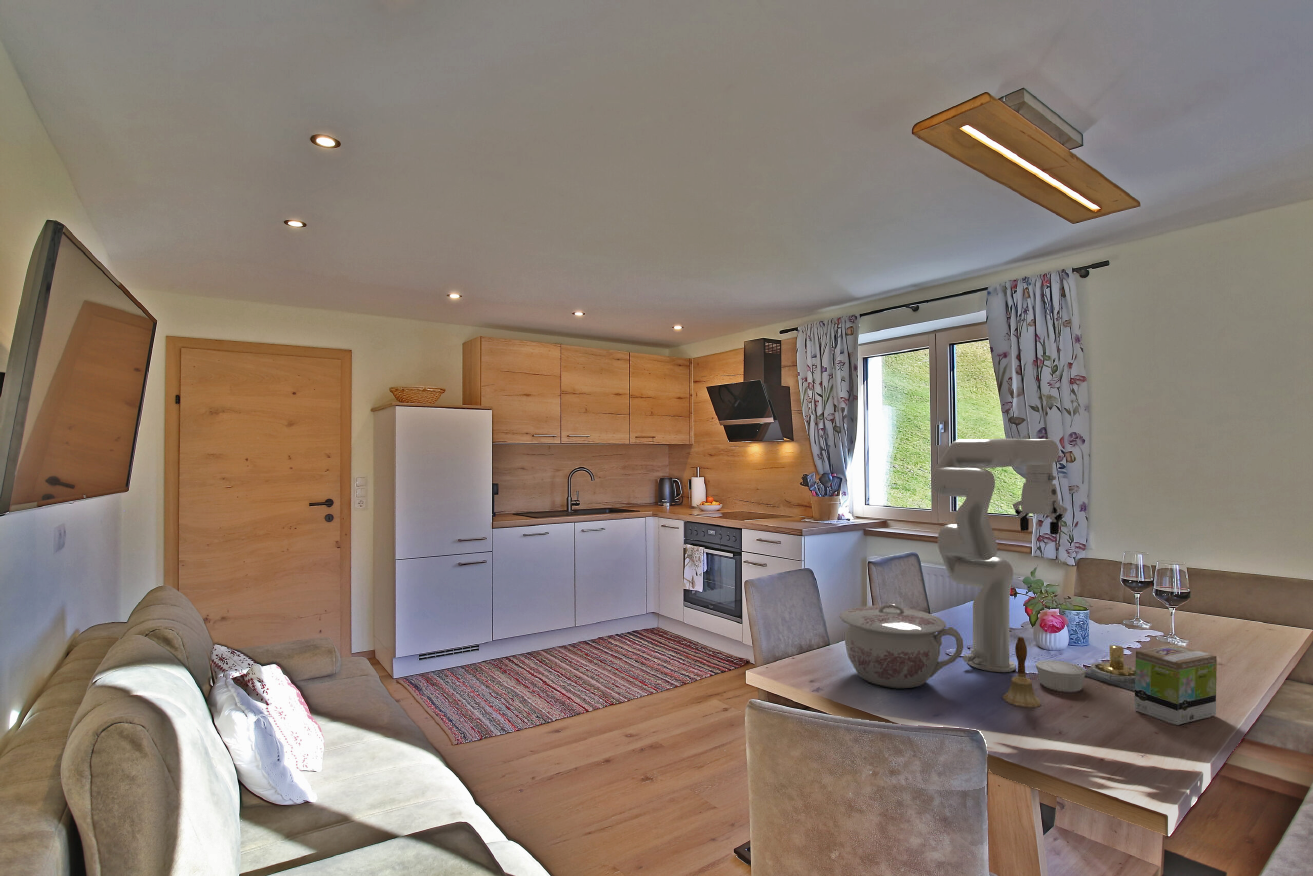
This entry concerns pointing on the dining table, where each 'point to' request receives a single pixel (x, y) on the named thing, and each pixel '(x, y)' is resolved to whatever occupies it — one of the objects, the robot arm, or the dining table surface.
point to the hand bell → (1021, 681)
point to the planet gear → (1116, 663)
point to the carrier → (1111, 677)
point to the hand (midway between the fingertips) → (1039, 532)
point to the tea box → (1175, 684)
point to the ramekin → (1061, 675)
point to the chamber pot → (896, 644)
